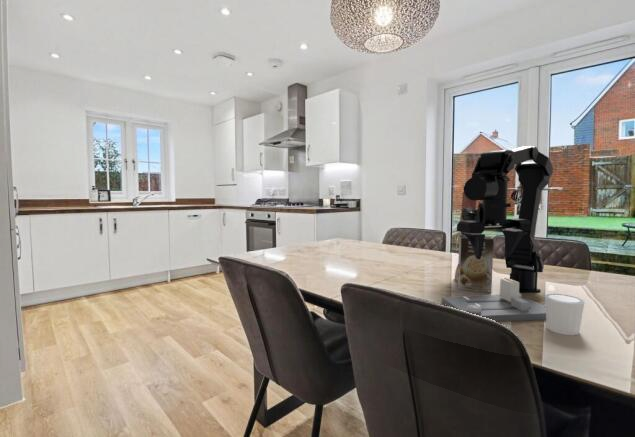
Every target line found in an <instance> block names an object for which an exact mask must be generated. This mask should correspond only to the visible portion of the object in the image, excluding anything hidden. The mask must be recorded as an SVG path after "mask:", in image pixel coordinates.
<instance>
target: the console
mask: <svg viewBox="0 0 635 437" xmlns="http://www.w3.org/2000/svg"><path fill="white" fill-rule="evenodd" d="M441 304H443V306H446V305H447V306H450V307H453V308H456V309H459V310H463V311H466V312H469V313H472V314H476V315H479V316H482V317H486V318H489V319H492V320H495V321H497V322H519V321H521V322H522V321H523V322H524V321H541V320H542V321H543V320H545V321H546V308H545V304H544V305H543V304H541V303H539V302H537V301H534V300H533V299H530V298H528V297H526V296H524V295H522V292H519V297H517V298H511V302H509V301H507V300H505V299H503V298H501V297H500V294H496V295H494V294H493V295H469V296H468V295H467V296H465V295H464V296H441ZM445 304H446V305H445ZM447 306H446V307H447ZM497 322H496V323H497Z"/></svg>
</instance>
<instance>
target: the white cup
mask: <svg viewBox="0 0 635 437" xmlns="http://www.w3.org/2000/svg"><path fill="white" fill-rule="evenodd" d="M544 306H545V308H546V320H545V321H546V328H547V329H548V330H549V331H551V332H554V333H556V334H560V335H564V336H565V335H566V336H576V335H579V334H580V330H581V324H582V318H583V312H584V307H585V300H583V299H582V298H580V297H577V296H573V295H568V294H561V293H547V294H545V295H544Z"/></svg>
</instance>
